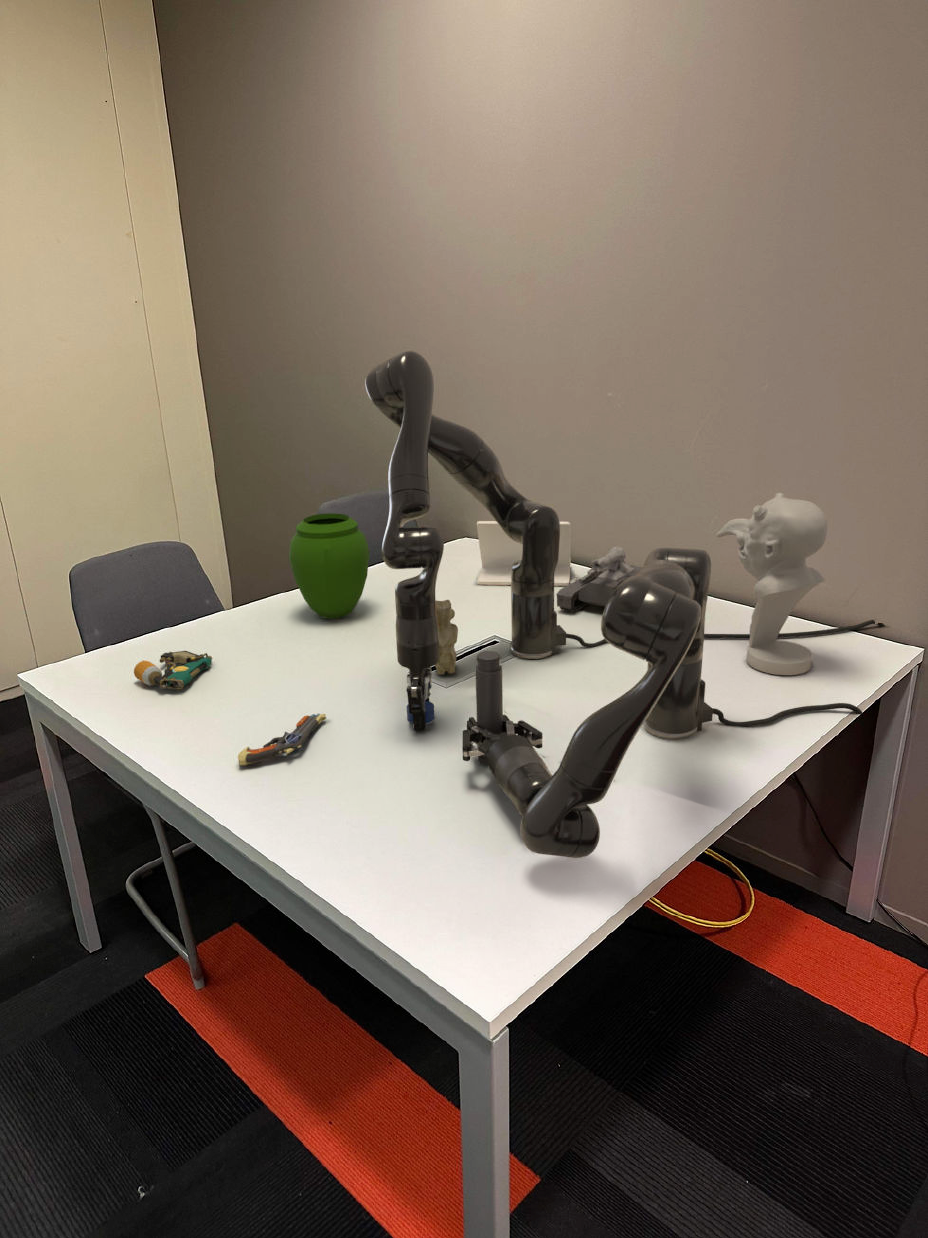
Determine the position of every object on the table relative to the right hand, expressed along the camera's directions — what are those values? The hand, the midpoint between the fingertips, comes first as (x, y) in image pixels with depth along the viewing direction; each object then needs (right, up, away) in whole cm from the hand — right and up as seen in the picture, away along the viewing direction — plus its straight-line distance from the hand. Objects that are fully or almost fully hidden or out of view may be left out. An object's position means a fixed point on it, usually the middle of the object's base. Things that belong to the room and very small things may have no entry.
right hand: (484, 720), depth 145 cm
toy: (+35, +21, +69) cm, 80 cm away
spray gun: (-64, +5, +36) cm, 74 cm away
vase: (-36, +18, +69) cm, 80 cm away
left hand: (-11, -2, +12) cm, 17 cm away
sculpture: (-7, +6, +35) cm, 36 cm away
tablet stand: (+14, +29, +94) cm, 100 cm away
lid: (-12, +1, +11) cm, 16 cm away
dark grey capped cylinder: (+1, -7, 0) cm, 7 cm away
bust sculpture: (+59, +8, +35) cm, 69 cm away
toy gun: (-36, -5, +7) cm, 37 cm away
